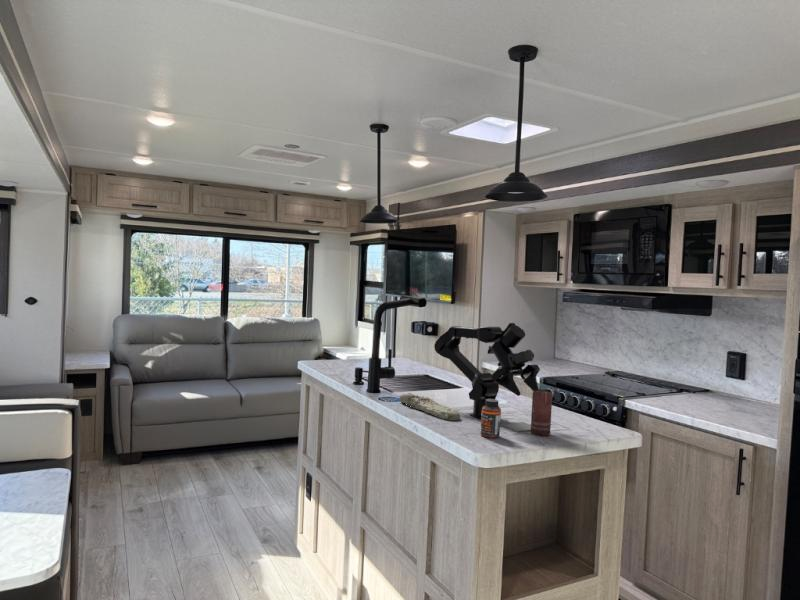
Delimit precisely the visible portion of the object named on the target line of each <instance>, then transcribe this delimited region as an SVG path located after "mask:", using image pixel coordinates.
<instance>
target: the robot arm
mask: <svg viewBox="0 0 800 600" xmlns="http://www.w3.org/2000/svg"><path fill="white" fill-rule="evenodd" d="M525 337H526V333H525V331H524V329H523V328H521V327H520V326H518V325H516V323H515V322H509V324H507V326H506V328H505V329H503V330H502V328H501V326H482V327H481V326H480V327H469V326H468V327H466V326H464V327H463V326H460V325H456V326H454V325H451V326H450V327H449V329H447V330H446V332H444V333H443V334H442V335H440V336H439V338H438V339H436V341H435V342H434V346H433V347H434V351H435V353H437V354H438V355H439V356H440V357H443V358H445V359H448V360H450V362H451V363H452V364H453V365H454V366H456V368H457V369H458V370H459V371H460V372H461V373H462V374H463V375H464V376H465V377H466V378H467V379H468V380H469V381H470V383H471V386H472V387H471V388H472V389H471V390H470V391H469V392H468V397H469V400H471V401H472V400H473V408H472V413H471V412H470V413H469V416H472V417H474V418H477V419H481V416H482V407H483V406H485V405H486V404H485V402H486V399H496V398H497V395H498V394H499V391H500V390H499V389H500V386H502V387H503V388H505V389H506V390H508V391H509V392H511V393H513V394H514V395H516V396H518V397H519V396H521V391H520V389H519V387H518V385H517V384H516V381H515V380H514V377H520V378H521V379H522V380H523V382H524V383H525V384H526V386H527V387H529V389H531V390H532V392H534V390H540V389H539V386H538V381H537V375H538V374H539V372H540V371H541V368H540V367H539V365H538V364H535V363H534V364H527V365H526V363H528V362H532V361H533V359H534V358H535V353H534V352H533V350H531V349H526V350H524V351H523V350H522V351H519V352H515V353H514V352H513V351H512V349H513V348H516V347H517V346H518V345H519V343H520V342H522V340H523V339H524V338H525ZM462 338H467V339H475V340H478V341H479V342H482V343H483V344H484V343H485V344H492V345H489V346H488V349H487V355H491V354H493V355H494V356H495V358H496V359H497V361H498V363H497V366H498V368H496V370H495V371H493V373H490V372H481V371H480V369H478V368H477V367H476V366H475V365H474V364H473V363H472V362H471V361H470V360H469V359H468V358H467V357H466V356H465V355H464V354H463V353H462V352H461V351H460V346H459V345H460V344H461V341H462V340H461V339H462ZM511 348H512V349H511ZM523 367H524V368H523ZM496 400H497V399H496Z"/></svg>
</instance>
